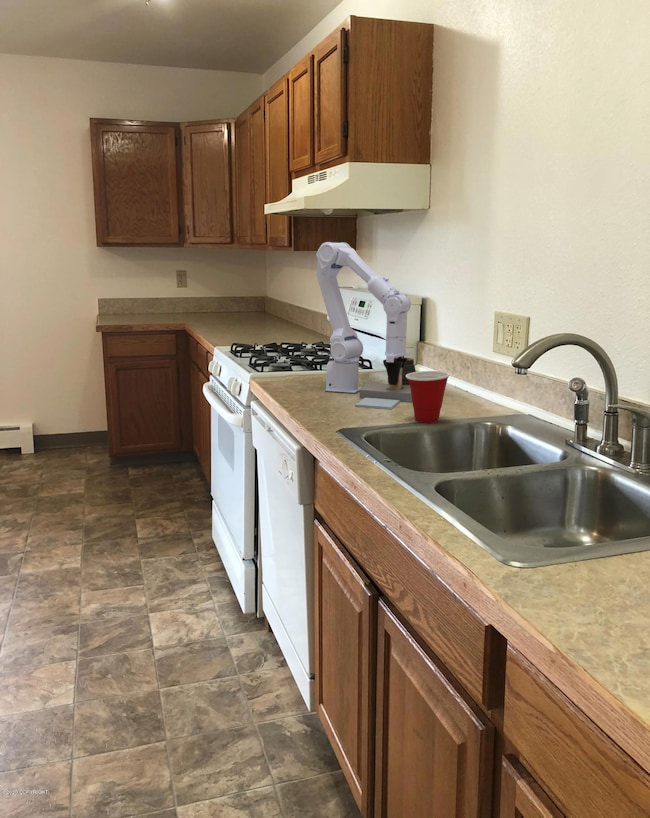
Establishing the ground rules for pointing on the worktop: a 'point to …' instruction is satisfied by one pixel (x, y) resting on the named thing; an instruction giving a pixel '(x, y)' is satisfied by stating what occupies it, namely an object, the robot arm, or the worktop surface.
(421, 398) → the plastic cup
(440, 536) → the worktop surface
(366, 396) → the grey flat plate
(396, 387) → the plug
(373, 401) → the mat
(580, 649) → the worktop surface
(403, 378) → the mate gourd
